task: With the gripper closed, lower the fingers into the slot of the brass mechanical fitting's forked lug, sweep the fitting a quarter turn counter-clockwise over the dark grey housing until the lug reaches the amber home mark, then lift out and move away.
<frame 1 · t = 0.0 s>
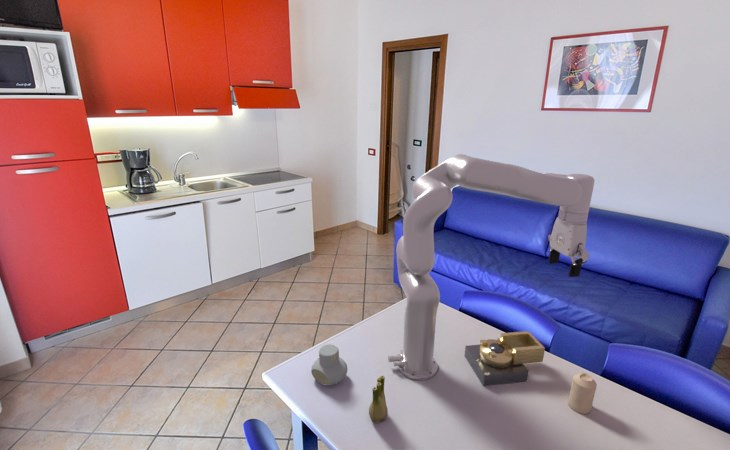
hand: (563, 269, 114), 31 cm above the table, tool pointing down, fingers open, 9 cm apart
brass mechanical fitting: (508, 348, 115), point 7 cm above the table, hinge at 0.0°
fennel bulb: (377, 417, 98), on the table
nut housing: (494, 368, 117), on the table
air freshener: (329, 378, 112), on the table
candle: (579, 407, 102), on the table
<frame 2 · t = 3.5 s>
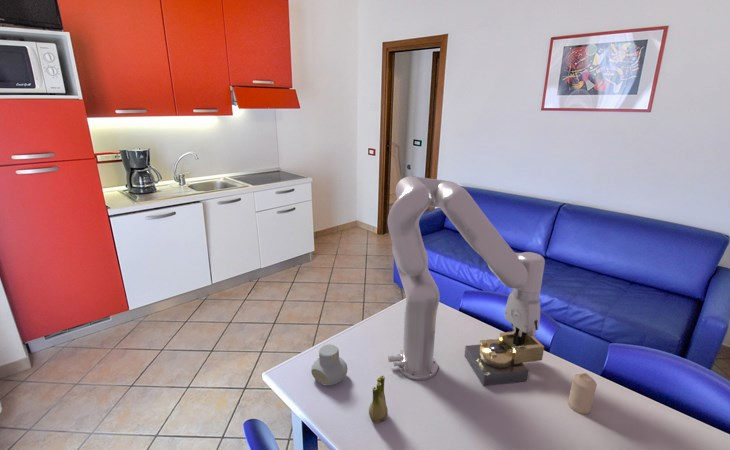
hand: (518, 344, 117), 7 cm above the table, tool pointing down, fingers closed
brass mechanical fitting: (508, 348, 115), point 7 cm above the table, hinge at 3.0°, touching gripper
everything else where it was.
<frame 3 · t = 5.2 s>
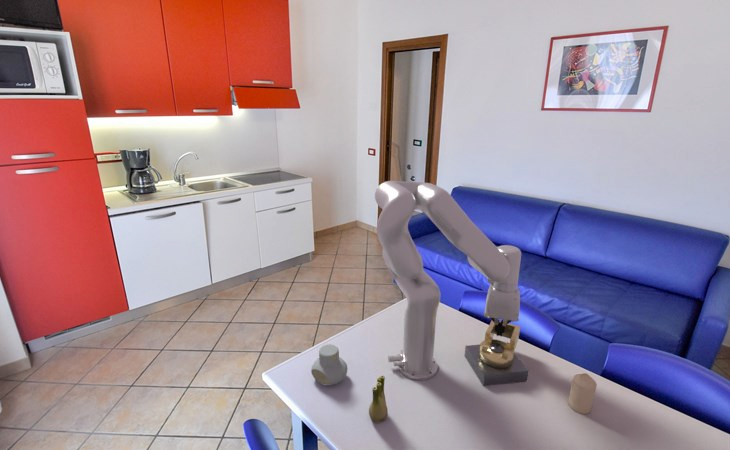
hand: (498, 333, 122), 7 cm above the table, tool pointing down, fingers closed
brass mechanical fitting: (499, 343, 118), point 7 cm above the table, hinge at 50.8°, touching gripper
everything else where it was.
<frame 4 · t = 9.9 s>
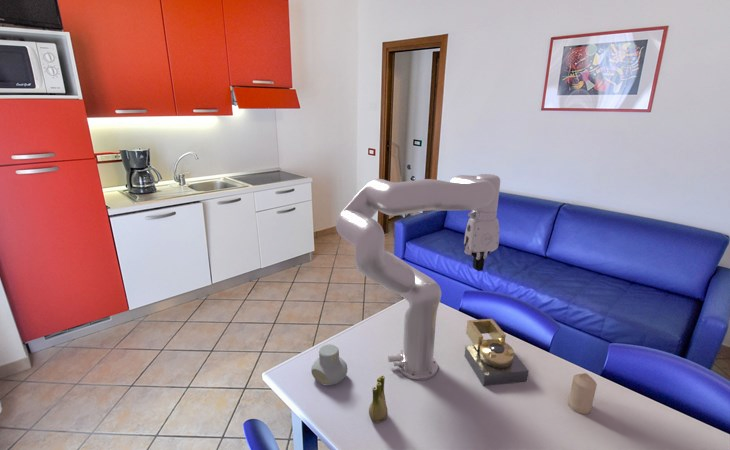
hand: (477, 269, 119), 29 cm above the table, tool pointing down, fingers closed
brass mechanical fitting: (490, 342, 118), point 7 cm above the table, hinge at 89.3°
everything else where it was.
at the end: brass mechanical fitting at +89° (first picture: +0°); candle moved 0.2 cm from its start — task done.
